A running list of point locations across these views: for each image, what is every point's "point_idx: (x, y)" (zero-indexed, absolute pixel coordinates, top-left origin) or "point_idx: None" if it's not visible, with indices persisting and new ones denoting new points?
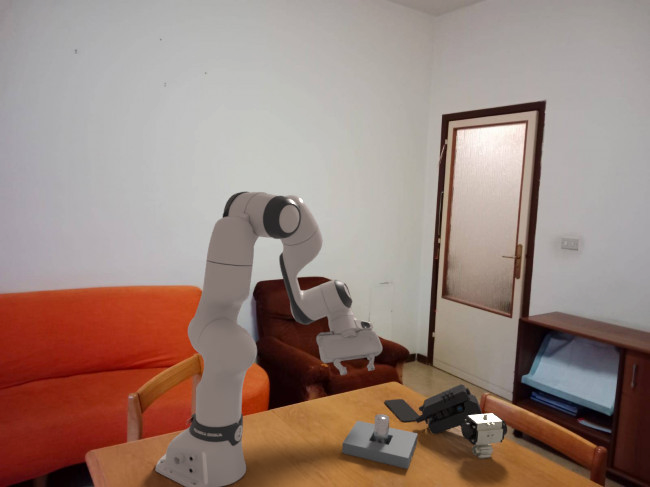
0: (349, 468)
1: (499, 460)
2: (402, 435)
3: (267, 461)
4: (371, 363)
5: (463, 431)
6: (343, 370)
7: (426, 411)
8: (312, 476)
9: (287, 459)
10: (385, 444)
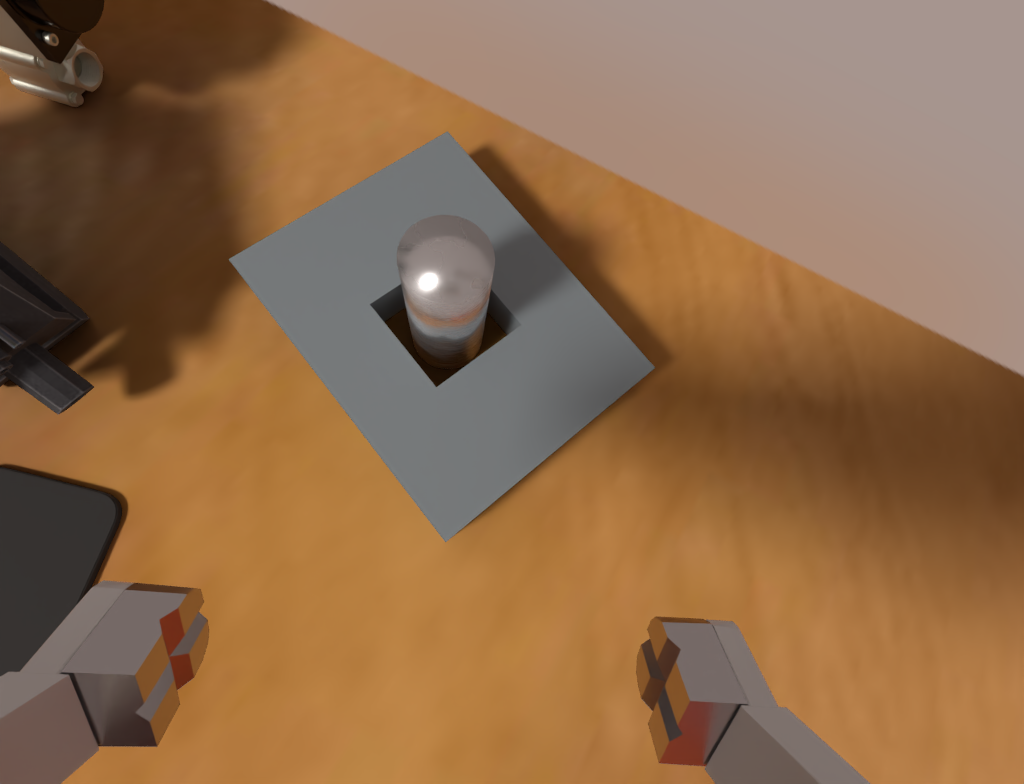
0: (661, 277)
1: None
2: (322, 281)
3: (956, 473)
4: (76, 664)
5: (68, 4)
6: (730, 648)
7: (12, 286)
8: (815, 301)
9: (875, 449)
10: None
